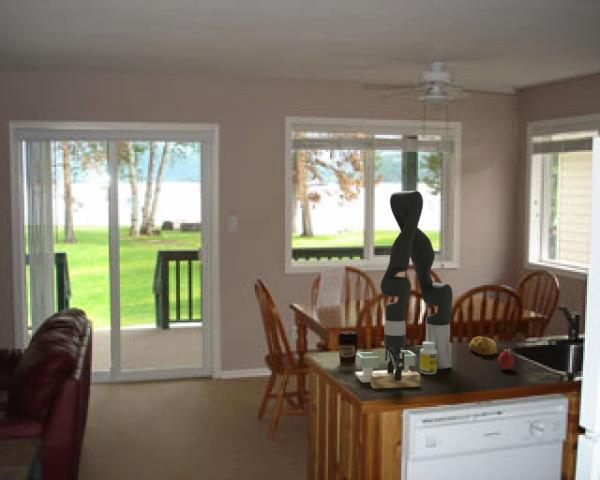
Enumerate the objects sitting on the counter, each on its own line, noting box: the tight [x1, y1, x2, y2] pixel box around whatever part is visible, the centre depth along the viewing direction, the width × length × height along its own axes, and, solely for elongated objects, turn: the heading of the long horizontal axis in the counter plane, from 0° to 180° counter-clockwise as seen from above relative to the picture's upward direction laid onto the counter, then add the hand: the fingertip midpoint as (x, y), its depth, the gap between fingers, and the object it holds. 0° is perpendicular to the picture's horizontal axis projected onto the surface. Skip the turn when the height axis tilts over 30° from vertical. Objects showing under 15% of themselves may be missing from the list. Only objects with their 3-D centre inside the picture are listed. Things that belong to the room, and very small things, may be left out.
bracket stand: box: [354, 349, 417, 383], centre depth 242 cm, size 21×10×9 cm, turn 100°
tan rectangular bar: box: [370, 371, 421, 389], centre depth 232 cm, size 17×4×4 cm, turn 98°
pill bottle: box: [419, 340, 438, 375], centre depth 248 cm, size 6×6×12 cm
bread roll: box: [468, 335, 498, 356], centre depth 280 cm, size 13×10×8 cm
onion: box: [497, 349, 515, 371], centre depth 252 cm, size 6×6×8 cm
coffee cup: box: [337, 330, 359, 366], centre depth 261 cm, size 9×8×13 cm
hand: (394, 377), depth 231 cm, fingers open, 8 cm apart
